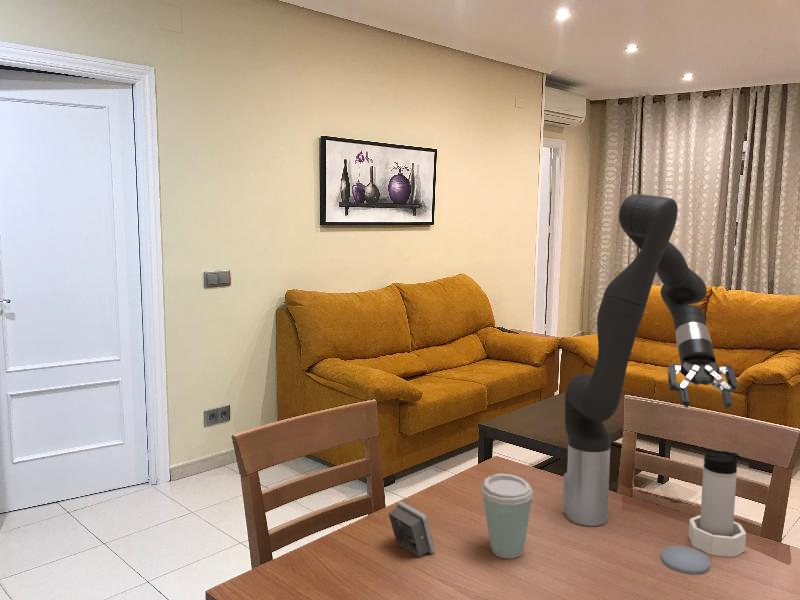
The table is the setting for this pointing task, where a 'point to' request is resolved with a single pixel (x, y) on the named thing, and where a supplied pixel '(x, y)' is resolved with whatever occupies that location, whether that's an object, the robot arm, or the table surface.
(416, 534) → the electrical switch
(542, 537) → the table surface
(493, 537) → the disposable coffee cup
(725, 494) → the travel mug
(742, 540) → the collar
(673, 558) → the coaster
